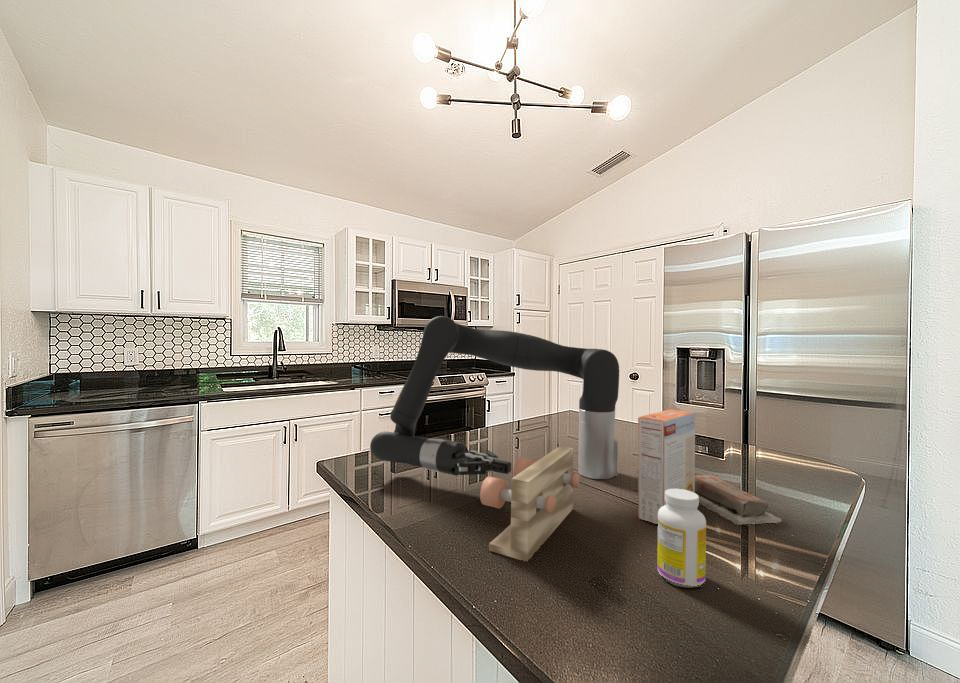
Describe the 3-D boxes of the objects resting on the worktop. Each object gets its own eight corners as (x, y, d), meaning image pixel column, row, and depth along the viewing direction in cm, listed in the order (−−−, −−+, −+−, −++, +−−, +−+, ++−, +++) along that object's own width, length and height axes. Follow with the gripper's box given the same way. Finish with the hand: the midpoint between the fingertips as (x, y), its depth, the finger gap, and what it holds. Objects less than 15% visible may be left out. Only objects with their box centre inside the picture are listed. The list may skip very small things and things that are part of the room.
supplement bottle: (694, 567, 66) (696, 487, 66) (713, 592, 60) (715, 503, 60) (651, 564, 67) (652, 485, 67) (665, 589, 61) (666, 501, 60)
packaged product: (679, 473, 99) (716, 471, 100) (678, 494, 99) (715, 491, 101) (739, 504, 81) (783, 501, 83) (738, 528, 81) (782, 525, 83)
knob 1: (479, 508, 75) (480, 481, 74) (493, 499, 79) (493, 473, 79) (547, 525, 68) (548, 495, 68) (558, 514, 73) (558, 486, 72)
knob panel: (489, 550, 71) (490, 474, 71) (541, 502, 92) (542, 443, 91) (527, 562, 67) (528, 481, 67) (572, 509, 88) (573, 448, 88)
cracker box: (667, 501, 93) (669, 407, 93) (695, 510, 88) (697, 411, 88) (635, 518, 84) (636, 415, 84) (664, 529, 79) (666, 420, 79)
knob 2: (513, 485, 87) (513, 461, 87) (523, 478, 91) (523, 455, 91) (573, 497, 80) (574, 471, 80) (581, 489, 85) (581, 464, 85)
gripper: (426, 446, 93) (495, 458, 84) (459, 434, 104) (522, 444, 96) (426, 480, 93) (495, 495, 84) (458, 464, 104) (522, 476, 96)
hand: (509, 468), depth 90 cm, fingers closed
